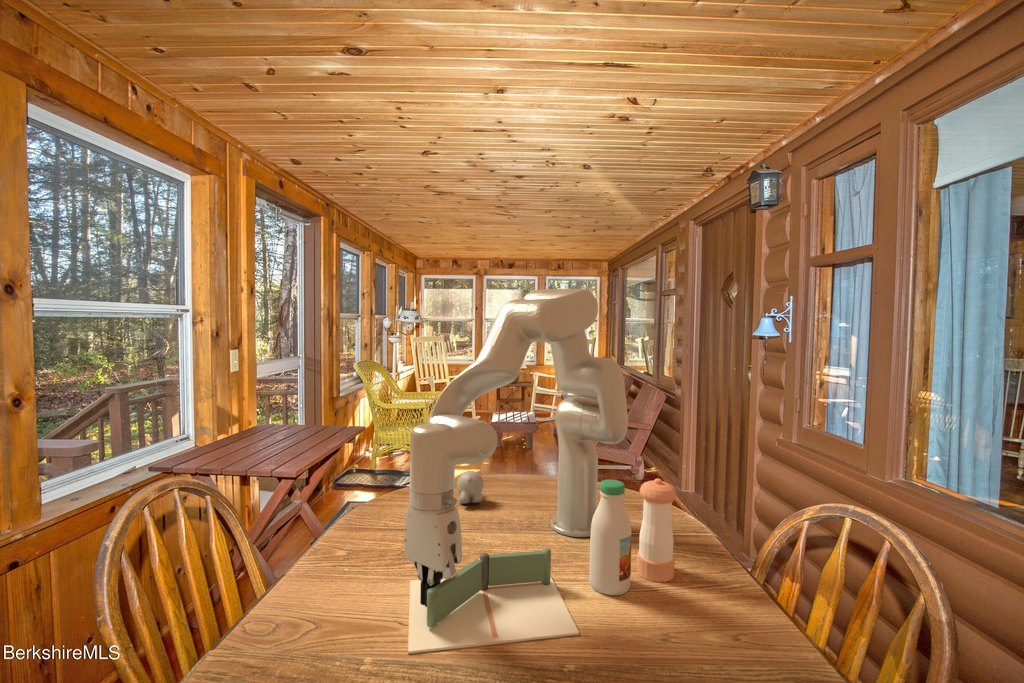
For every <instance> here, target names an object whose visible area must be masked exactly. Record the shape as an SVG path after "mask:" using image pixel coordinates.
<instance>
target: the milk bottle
mask: <svg viewBox="0 0 1024 683" xmlns="http://www.w3.org/2000/svg"><path fill="white" fill-rule="evenodd" d="M625 489H626V486H625V483H624V481H620V480H617V479H603V480H601V481H600V484H599V494H600V498H599V500H600V501H598V502H599V503H598V504H597V509H596V511H595V513H594V515H593V518H592V523H591V536H589V537H590V541H589V542H590V544H589V569H588V570H589V571H588V573H589V575H588V576H589V578H588V579H589V585H590V586H591V588H592V589H593V590H595V591H596V592H598V593H600V594H603V595H606V596H620V595H623V594H625V593H627V592H628V591H629V589H630V587H631V574H632V571H631V570H632V569H631V568H632V523H631V520H630V517H629V513H628V512H627V509H626V506H625V503H624V497H625Z"/></svg>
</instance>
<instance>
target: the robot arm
mask: <svg viewBox="0 0 1024 683" xmlns="http://www.w3.org/2000/svg"><path fill="white" fill-rule="evenodd" d="M597 300H598V299H597V298H596V296H595V295H594V293H593V292H591V291H590V290H588V289H584V288H544V289H536V290H531V291H529V292H528V293H526V294H525V296H523V298H519V299H518V298H517V299H512V300H509V301H506V302H505V303H504V304H503V305H502V306H501V307H500V309H499V311H498V313H497V315H496V317H495V320H494V321H493V323H492V326H491V328H490V330H489V332H488V334H487V336H486V338H485V340H484V343H483V345H482V347H481V348H480V352H478V353H479V354H478V356H477V357H476V359H475V361H474V362H472V363H471V364H470V365H468V366H467V367H466V368H465V369H463V371H461V372H460V373H459V374H458V375H456V377H454V378H453V379H452V380H451V381H450V382H449V383H448V384H447V385H446V386H445V387H444V388H443V389H442V391H441V392H440V394H439V395H438V397H437V399H436V401H435V403H434V405H433V407H432V410H431V411H430V414H429V416H428V418H427V421H426V423H421V424H418V425H416V426H415V427H413V428H412V430H411V432H410V438H409V441H410V442H409V444H410V446H409V502H408V504H407V508H406V514H405V522H404V534H403V535H404V537H403V545H404V546H403V548H404V553H405V555H406V557H407V560H408V561H409V562H410V563H411V564H413V565H414V567H415V568H416V572H417V578H418V579H417V580H420V581H421V594H420V604H422V605H425V607H427V590H428V589H430V588H433V587H435V586H437V585H438V584H440V583H441V580H442V579H452V578H453V577H455V576H456V572H457V570H456V566H455V565H457V564H461V563H462V560H463V546H462V544H463V543H462V542H463V541H462V538H463V537H462V527H461V525H462V524H461V518H460V514H459V509H458V508H459V507H458V506H456V505H457V501H458V500H457V498H456V497H455V474H456V472H455V470H456V469H455V468H456V466H457V465H465V464H466V465H467V464H469V465H470V464H478V463H482V462H484V461H486V460H488V459H489V458H490V457H492V455H493V454H494V453H495V451H496V449H497V446H498V441H499V440H498V434H497V431H496V430H495V428H494V427H493V426H492V425H491V424H489V423H488V422H485V421H483V420H480V419H476V418H471V417H469V416H463V415H464V413H465V412H466V410H467V408H469V406H470V405H471V404H472V403H473V402H474V401H475V400H476V399H478V398H480V397H481V396H483V395H484V394H487V393H488V392H492V391H495V390H497V389H499V388H502V387H505V386H507V385H510V384H511V383H513V382H514V381H515V380H516V379H517V377H518V374H519V372H520V371H521V369H522V368H521V367H522V365H523V362H524V361H525V358H526V356H527V353H528V352H529V349H530V348H531V347H530V346H531V344H533V343H549V344H550V347H551V348H550V349H551V355H552V362H553V369H554V376H555V381H556V385H557V389H559V391H560V392H562V394H565V395H568V396H569V395H570V396H571V397H568V398H564V399H562V400H561V401H560V402H559V403H558V404H557V406H556V407H555V408H556V409H555V413H554V422H555V427H556V434H557V443H558V458H557V459H558V460H557V462H558V464H557V466H558V467H557V469H558V470H557V501H556V502H557V505H556V508H557V509H556V514H554V515H553V516H552V517H551V518H550V527H551V528H552V530H553V531H555V532H557V533H559V534H561V535H564V536H569V537H573V538H574V537H575V538H588V537H590V536H591V523H592V518H593V515H594V513H595V511H596V509H597V507H598V473H599V472H598V470H599V469H598V468H599V458H598V457H599V456H598V451H597V449H596V446H595V443H594V442H598V443H601V444H608V445H615V444H619V443H621V442H622V441H623V440H624V439H625V437H626V435H627V433H628V428H629V425H628V424H629V417H628V404H627V397H626V395H627V394H626V386H625V377H624V372H623V370H622V368H621V366H620V364H619V363H618V362H617V361H615V360H614V359H612V358H608V357H602V356H600V357H599V356H593V355H591V353H590V350H589V344H588V343H589V342H588V337H587V336H588V335H587V333H586V330H588V329H589V328H590V327H591V326H592V325H593V324H594V323H595V321H596V320H597V318H598V313H599V305H598V304H599V303H598V301H597Z"/></svg>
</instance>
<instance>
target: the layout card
mask: <svg viewBox="0 0 1024 683" xmlns="http://www.w3.org/2000/svg"><path fill="white" fill-rule="evenodd" d="M444 580H446V579H442V580H441V582H443V581H444ZM420 594H421V581H420V580H419V579H412V580H411V579H410V581H409V609H408V613H409V614H408V640H407V642H408V643H407V644H408V645H407V654H409V655H411V654H421V653H427V652H439V651H447V650H455V649H464V648H474V647H483V646H491V645H499V644H509V643H519V642H525V641H526V642H528V641H537V640H545V639H546V640H547V639H554V638H561V637H562V638H564V637H570V636H571V637H572V636H579V635H580V632H579V630H578V628H577V626H576V623H575V621H574V620H573V618H572V615H571V614H570V612H569V610H568V607H567V606H566V604H565V602H564V600H563V598H562V596H561V594H560V592H559V590H558V587H557V586H556V584H555V582H554V580H553V578H552V576H551V577H550V585H543V583H542V582H531V583H520V584H509V585H497V586H488V590H482V591H481V590H480V591H479V592H478V593H476V594H475V595H474V596H472V597H471V598H470V599H468V600H467V601H466V602H464V603H463V604H462V605H460V606H459V607H458V608H457V609H455V610H454V611H453V612H451V613H450V614H449V615H447V616H446V617H445V618H443V619H442V620H441V621H439V622H438V623H437V625H436V626H435V627H428V626H427V607H425V605H422V604H420Z"/></svg>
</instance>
